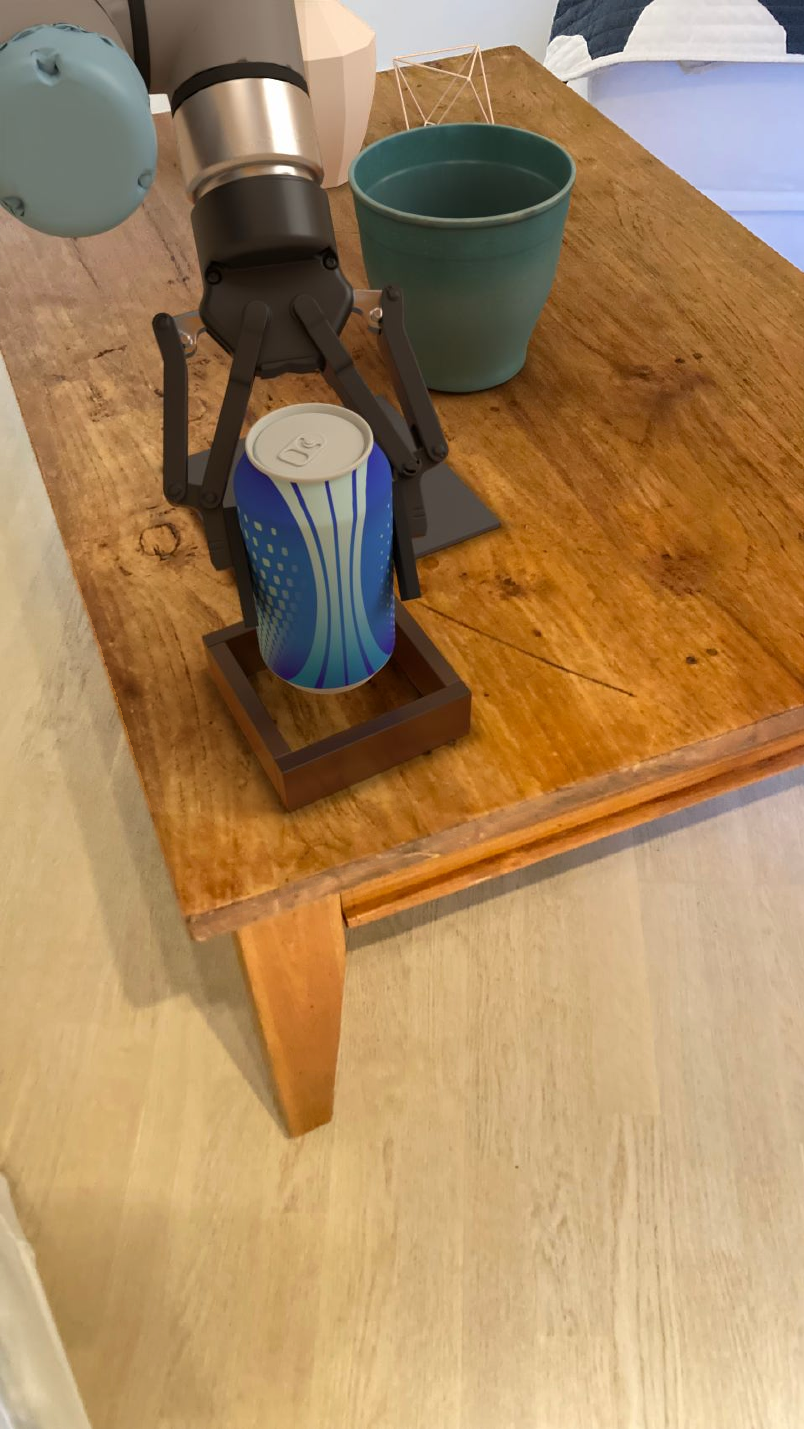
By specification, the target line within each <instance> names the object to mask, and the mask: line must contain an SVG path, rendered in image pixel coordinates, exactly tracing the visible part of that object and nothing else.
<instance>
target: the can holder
mask: <svg viewBox="0 0 804 1429" xmlns="http://www.w3.org/2000/svg"><path fill="white" fill-rule="evenodd" d="M394 609H395V644H394V648H393V651H392V654H391V656H392V657H393V659H394V660H395V661H396V663H397V664H398V666H399V667H400V668H401V670H402V671H403V672H404V673H405V675H406V676H407V678H408V679H409V680H410V682H411V683H412V685H413V686H414V687H415V689H416V690H417V691H418V692H419V694H420V695H421V696H422V697H419V698H418V699H416V700H413V701H411V702H408V703H405V704H403V705H401V706H399V707H396V708H393V709H391V710H389V711H387V712H384V713H382V714H380V715H377V716H374V717H373V718H370V719H368V720H366V721H364V722H363V721H362V722H361V723H359V724H356V725H354V726H352V727H351V726H350V727H349V728H347V729H344V730H342V731H340V732H337V733H334V734H332V735H330V736H327V737H325V738H323V739H321V740H318V741H316V742H313V743H311V744H309V745H307V746H304V747H302V748H300V749H298V750H294V751H292V749H291V748H290V746H289V745H288V742H287V741H286V740H285V738H284V736H283V735H282V733H281V731H280V730H279V728H278V727H277V724H276V723H275V721H274V720H273V718H272V716H271V715H270V713H269V711H268V710H267V708H266V706H265V705H264V703H263V702H262V700H261V698H260V696H259V695H258V693H257V692H256V690H255V689H254V686H253V685H252V684H251V682H250V680H249V678H248V676H251V675H254V674H256V673H259V672H261V671H264V670H267V669H269V667H268V666H267V665H266V663H265V662H264V660H263V658H262V655H261V652H260V647H259V641H258V635H257V629H256V627H252V628H246V629H245V626H244V621H243V620H240V621H238V622H236V623H235V622H234V623H233V624H230V625H227V626H224V627H222V628H219V629H216V630H214V631H212V632H209V633H206V634H204V635H202V636H201V640H202V644H203V649H204V654H205V657H206V662H207V667H208V672H209V675H210V679H211V680H212V682H213V683H214V685H215V687H216V688H217V691H218V692H219V695H220V696H221V697H222V699H223V701H224V703H225V704H226V706H227V708H228V710H229V711H230V713H231V715H232V717H233V718H234V720H235V722H236V724H237V726H238V727H239V729H240V731H241V732H242V734H243V735H244V737H245V739H246V741H247V742H248V744H249V746H250V748H251V749H252V751H253V753H254V755H255V757H256V758H257V760H258V761H259V763H260V765H261V767H262V768H263V770H264V772H265V774H266V775H267V777H268V778H269V780H270V783H271V784H272V786H273V787H274V789H275V791H276V793H277V795H278V796H279V798H280V799H281V801H282V804H283V805H284V807H285V808H286V810H287V812H288V813H292V812H293V811H294V812H295V811H296V810H299V809H301V808H303V807H305V806H307V805H311V804H313V803H315V802H316V801H319V800H321V799H324V798H326V797H328V796H331V795H332V794H334V793H337V792H340V791H342V790H344V789H347V788H348V787H350V786H353V785H356V784H357V783H360V782H363V781H364V780H366V779H369V778H371V777H373V776H376V775H378V774H380V773H382V772H384V771H387V770H388V769H391V768H394V767H395V766H398V765H401V764H403V763H404V762H407V761H410V760H411V759H414V758H416V757H418V756H420V755H423V754H425V753H427V752H430V751H432V750H434V749H436V748H439V747H441V746H443V745H446V744H447V743H450V742H452V741H455V740H457V739H460V738H461V737H464V736H466V735H469V734H470V733H471V720H472V719H471V718H472V699H473V698H472V696H473V692H472V690H470V687H468V685H467V684H466V683H465V682H464V681H463V679H462V678H461V676H460V675H459V674H458V673H457V671H455V669H454V668H453V666H452V665H451V664H450V663H449V662H448V660H447V659H446V657H445V656H444V655H443V654H442V653H441V651H440V650H439V649H438V647H437V646H436V645H435V643H434V642H433V641H432V639H430V637H429V636H428V635H427V633H426V632H425V631H424V630H423V628H422V627H421V625H420V624H419V623H418V622H417V620H415V618H414V617H413V615H412V614H411V613H410V611H408V609H407V608H406V607H405V605H404V604H403V603H402V601H401V599H399V598H398V597H397V595H396V594H395V593H394Z"/></svg>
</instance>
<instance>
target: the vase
mask: <svg viewBox="0 0 804 1429" xmlns="http://www.w3.org/2000/svg"><path fill="white" fill-rule="evenodd" d="M294 3H295V10H296V16H297V23H298V29H299V36H300V42H301V49H302V55H303V62H304V69H305V75H306V82H307V86H308V91H309V97H310V101H311V105H312V111H313V116H314V121H315V127H316V132H317V137H318V143H319V148H320V154H321V159H322V164H323V170H324V179H323V183H322V184H321V185H320V187H321V188H323V189H324V190H326V189H330V188H332V189H333V188H337V187H340V186H342V185H343V184H345V183H347V182H349V181H348V170H349V166H350V164H351V162H352V161H353V159H354V158H355V157H356V156H357V154H359V153H360V152H361V149H362V146H363V143H364V140H365V137H366V134H367V130H368V125H369V120H370V114H371V110H372V105H373V100H374V94H375V91H376V90H375V89H376V76H377V38H376V36H377V35H376V33H375V31H374V30H373V29H372V28H371V26H369V25H368V23H367V22H365V21H364V20H363V19H362V18H360V17H359V16H358V15H357V14H355V13H354V12H353V11H352V10H350V8H348V7H346V6H345V5H344V4H343V3H341V2H340V1H339V0H294Z"/></svg>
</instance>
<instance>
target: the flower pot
mask: <svg viewBox="0 0 804 1429" xmlns="http://www.w3.org/2000/svg"><path fill="white" fill-rule="evenodd" d="M435 124H436V125H429V124H428V125H426V126H424V125H423V126H418V127H413V128H409V130H407V129H406V130H401V131H398V132H395V133H392V134H389V135H387V136H385V137H382V138H380V139H378V140H375V141H374V142H372V143H370V144H369V145H367V146H366V147H364V148H363V149H362V150H360V152H359V154H357V156H356V157H355V158H354V159H353V161H352V162H351V164H350V166H349V170H348V181H347V182H348V186H349V189H350V191H351V193H352V197H353V198H352V199H353V206H354V212H355V218H356V222H357V226H358V227H357V228H358V233H359V242H360V247H361V255H362V260H363V266H364V270H365V274H366V279H367V282H368V287H369V290H383V288H384V287H385V286H386V285H387V284H390V283H395V284H397V285H399V286H400V287H401V288H402V290H403V294H404V327H405V330H406V332H407V335H408V338H409V341H410V343H411V346H412V349H413V352H414V354H415V357H416V360H417V363H418V365H419V368H420V371H421V373H422V376H423V379H424V382H425V384H426V387H427V389H430V390H435V391H441V392H447V393H472V392H477V391H478V392H479V391H483V390H487V389H491V388H495V387H496V386H500V385H502V384H504V383H505V382H508V381H509V380H511V379H512V378H513V377H514V376H515V375H517V374H518V373H519V372H520V371H521V370H522V368H523V366H524V365H525V363H526V359H527V349H528V344H529V341H530V339H531V337H532V335H533V332H534V330H535V328H536V325H537V323H538V321H539V318H540V316H541V314H542V311H543V309H544V307H545V305H546V303H547V300H548V298H549V295H550V293H551V289H552V287H553V284H554V281H555V279H556V278H555V277H556V274H557V269H558V265H559V260H560V255H561V251H562V250H561V249H562V245H563V238H564V234H565V226H566V219H567V217H568V213H569V208H570V200H571V195H572V190H573V189H574V186H575V183H576V179H577V167H576V163H575V161H574V158H573V156H572V155H571V154H570V153H569V152H568V151H567V150H566V149H565V148H564V147H563V146H562V145H560V144H559V143H557V142H556V141H554V140H553V139H550V138H548V137H546V136H544V135H541V134H539V133H536V132H533V131H531V130H528V129H524V128H520V127H516V126H510V125H505V124H500V123H499V124H498V123H494V124H492V123H490V122H489V123H487V122H447V123H440V124H437V123H435Z"/></svg>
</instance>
